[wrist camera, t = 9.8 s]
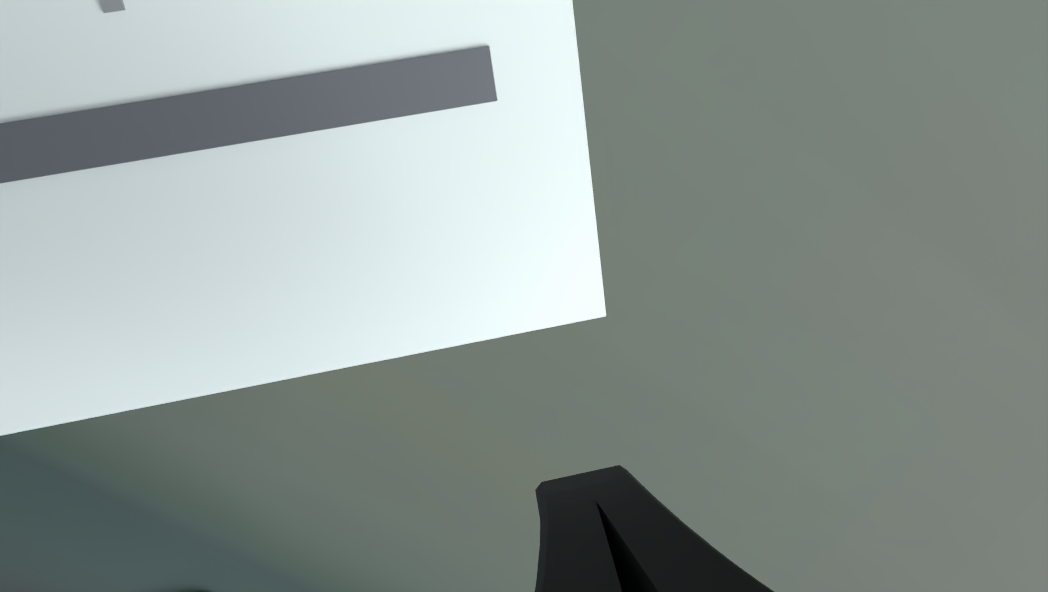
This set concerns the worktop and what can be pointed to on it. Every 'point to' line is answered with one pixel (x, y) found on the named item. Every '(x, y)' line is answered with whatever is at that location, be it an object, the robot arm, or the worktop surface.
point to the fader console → (279, 191)
